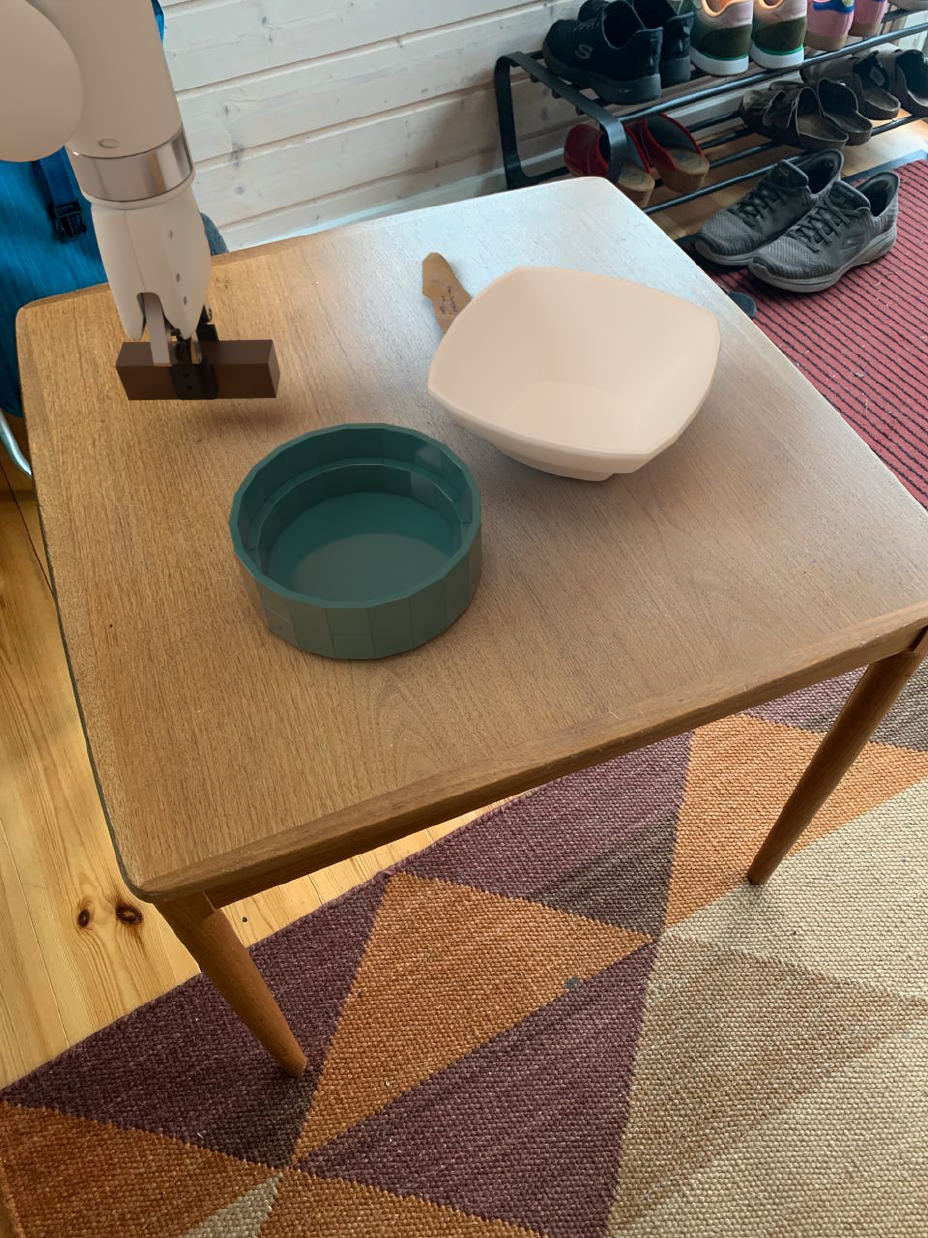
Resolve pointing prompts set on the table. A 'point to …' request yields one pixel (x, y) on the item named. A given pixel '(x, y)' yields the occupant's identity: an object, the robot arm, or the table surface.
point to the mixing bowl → (358, 539)
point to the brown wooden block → (232, 362)
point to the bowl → (576, 369)
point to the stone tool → (443, 290)
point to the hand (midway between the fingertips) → (201, 380)
